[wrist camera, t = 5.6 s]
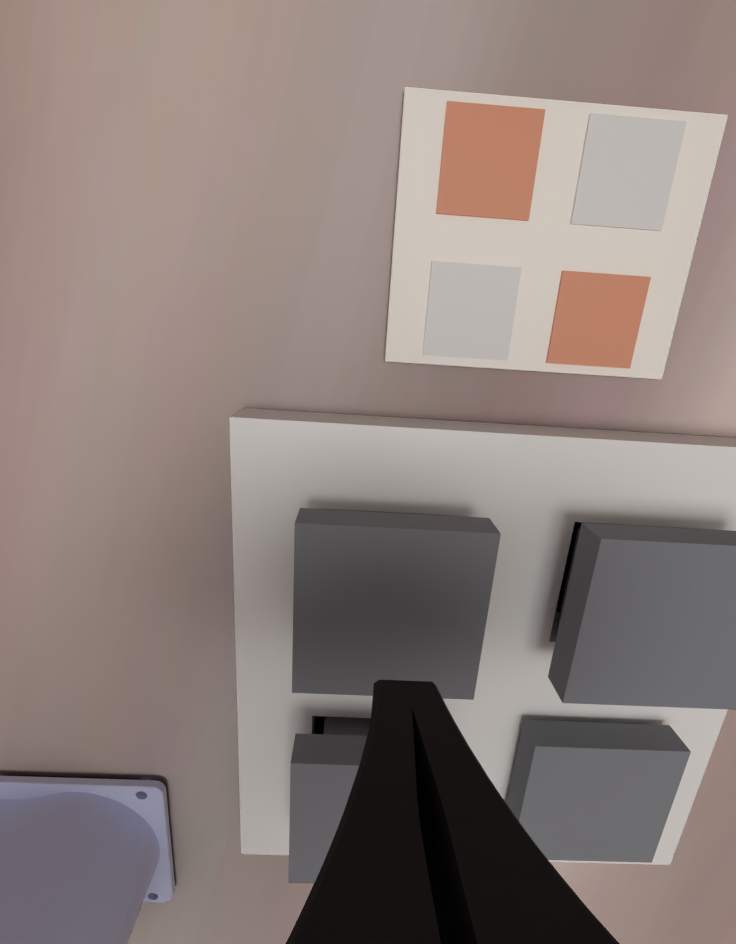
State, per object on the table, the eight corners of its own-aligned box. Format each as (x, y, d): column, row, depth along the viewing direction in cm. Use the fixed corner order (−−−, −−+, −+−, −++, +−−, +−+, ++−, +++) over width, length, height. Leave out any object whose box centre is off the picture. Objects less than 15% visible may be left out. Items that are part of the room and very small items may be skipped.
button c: (303, 632, 17) (291, 692, 14) (307, 488, 16) (294, 523, 13) (454, 638, 17) (473, 699, 14) (474, 497, 16) (500, 533, 13)
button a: (299, 801, 20) (288, 882, 17) (302, 693, 18) (290, 763, 15) (430, 805, 20) (443, 886, 17) (445, 699, 18) (462, 768, 15)
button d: (528, 641, 18) (562, 703, 15) (556, 501, 16) (601, 538, 13) (673, 648, 18) (736, 709, 15) (716, 510, 16) (797, 548, 13)
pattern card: (384, 360, 16) (385, 361, 15) (403, 92, 13) (405, 85, 13) (656, 378, 16) (663, 379, 16) (720, 119, 14) (730, 113, 13)
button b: (489, 786, 21) (510, 858, 18) (508, 684, 19) (535, 746, 16) (611, 789, 21) (651, 862, 18) (640, 689, 20) (691, 751, 17)
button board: (251, 808, 22) (241, 854, 20) (245, 408, 16) (229, 417, 14) (643, 820, 22) (669, 864, 21) (770, 439, 17) (823, 452, 15)
